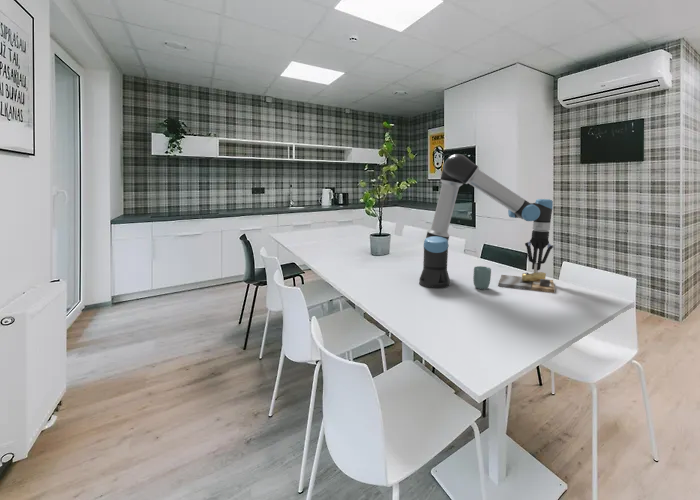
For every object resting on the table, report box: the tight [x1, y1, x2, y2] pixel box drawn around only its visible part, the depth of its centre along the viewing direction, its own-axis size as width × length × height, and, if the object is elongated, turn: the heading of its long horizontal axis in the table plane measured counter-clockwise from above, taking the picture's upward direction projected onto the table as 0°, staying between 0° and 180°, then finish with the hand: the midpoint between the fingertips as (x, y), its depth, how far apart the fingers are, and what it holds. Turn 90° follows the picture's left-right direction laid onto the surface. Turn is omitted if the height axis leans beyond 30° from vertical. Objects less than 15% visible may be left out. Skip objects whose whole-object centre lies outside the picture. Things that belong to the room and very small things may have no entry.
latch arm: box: [521, 271, 547, 282], centre depth 174 cm, size 14×4×4 cm, turn 114°
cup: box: [473, 265, 492, 290], centre depth 168 cm, size 8×8×10 cm
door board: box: [497, 274, 556, 294], centre depth 173 cm, size 24×18×5 cm
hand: (535, 275), depth 178 cm, fingers closed
